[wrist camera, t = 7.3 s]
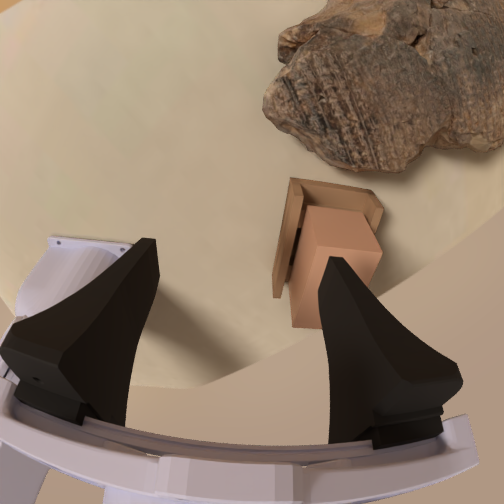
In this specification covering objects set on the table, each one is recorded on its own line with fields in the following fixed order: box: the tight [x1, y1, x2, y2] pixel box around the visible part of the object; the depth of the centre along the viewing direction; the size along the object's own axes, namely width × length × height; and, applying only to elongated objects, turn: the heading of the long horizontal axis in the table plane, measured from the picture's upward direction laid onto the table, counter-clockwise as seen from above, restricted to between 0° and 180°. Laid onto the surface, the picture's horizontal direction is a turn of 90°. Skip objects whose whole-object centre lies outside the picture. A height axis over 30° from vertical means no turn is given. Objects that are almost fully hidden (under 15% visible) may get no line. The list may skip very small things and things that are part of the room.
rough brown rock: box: [262, 0, 504, 173], centre depth 13 cm, size 14×5×20 cm
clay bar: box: [288, 205, 383, 329], centre depth 20 cm, size 7×4×4 cm, turn 174°
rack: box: [272, 177, 384, 298], centre depth 22 cm, size 9×6×3 cm
